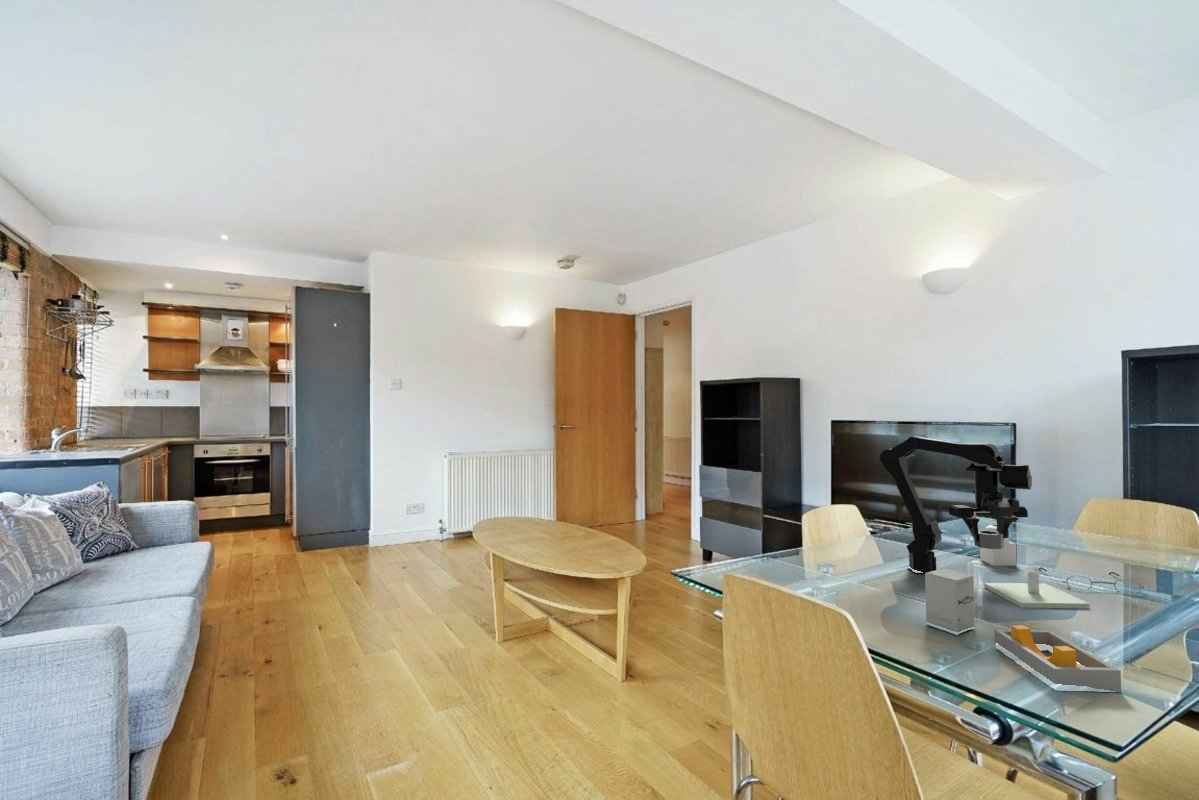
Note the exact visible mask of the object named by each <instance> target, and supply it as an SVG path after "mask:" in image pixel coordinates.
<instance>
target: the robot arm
mask: <svg viewBox="0 0 1199 800" xmlns="http://www.w3.org/2000/svg"><path fill="white" fill-rule="evenodd" d="M917 450H921V451H926V452H927V451H928V452H932V453H939V454H944V455H951V456H957V457H960V458H962V459H965V460H967V461H969V462H971V463H970V465H969V466H967V467H966V468H965V471H966V472H973V476H974V477H973V478H974V489H973V488H972V489H971V490H972V492H971V493H973V494H974V499H975V500H974V501H975V502H973V503H972V507H970V506H967V505H963V504H958V505H957V504H955V505H954V504H952V505H951V506H950V507H949V508H948V515H950V516H953V517H956V518H957V519H958V518H959V519H962V520H963V522H964V524H965V525H966V526H967V528H968V531H969V532H970V534H971V536H972V537H973V539H974V542H975V541H978V539H979V535H978V530H979V525H978V524H979V522H980V518H977V515H992V517H995V519H996V525H997V529H998V532H1001V533H1003V539H1004V538H1005V535H1006V533H1007V530H1008V529H1009V528H1010V526H1011V524H1013V523H1014V522H1015V521H1019V519H1020V518H1029V511H1028V509H1027V508H1026V506H1023V505H1020V501H1019V500H1018V499H1017V498H1008V499H1005V498H1004V496H1003V493H1002V492H1003V491H1000V488H999V485H1001V486H1004V489H1012V490H1013V489H1014V490H1029V491H1031V490H1032V484H1033V483H1032V482H1033V478H1032V475H1031V470H1030V466H1029V464H1008V463H1007V461H1005V460H1004V459H1003V457H1002V456H1000V452H999V449H998V448H997V447H996V446H995V445H994V444H992V443H986V442H977V443H976V442H972V443H971V442H970V443H968V442H966V443H963V442H956V441H955V442H954V441H950V440H949V441H948V440H942V439H935V438H928V437H923V436H919V435H912V436H910V437H908V438H907V439H906V440H904V441H902V442H901V443H899V444H897V445H895V446H894V447H893V448H892V447H891V448H888V449H884V450H883V451H881V452H880V455H879V457H878V458H879V462H880V463H881V465H882V466H883V468H884V469H885V471H886V472H887V473H888V474H889V475H890V476H891V477H892V478H893V481H894V483H895V485H896V488H897V489H898V492H899V495H900V497H901V499H902V502H903V504H904V506H905V508H906V510H907V513H908V515H909V517H910V520H911V523H912V524H911V527H912V535H913V540H912V541H911V542H910V543H908V544H907V545H906V549H907V551H908V566H910V567H911V568H912V569H914V570H917V571H921V572H923V573H927V572H931V571H935V570H937V557H936V556H935V552H934V550H935V548H936V546H938V545H939V544H940V543H941V541H942V540H943V539H942V538H943V536H942V534H943V532H942V530H941V529H940V527H939V523H938V520H934V521H932V520H931V519H930V518H929V517H928V516H927V513H926V511H925V508H924V507H923V504H922V502H921V501H920V498H919V496H918V493H917V491H916V488H915V487H914V485H913V483H912V480H911V478H910V475H909V470H908V469H909V468H908V462H907V457H909V456H910V455H912V454H913V453H915V452H916V451H917ZM999 482H1000V483H999Z"/></svg>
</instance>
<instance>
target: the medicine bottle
mask: <svg viewBox="0 0 1199 800" xmlns="http://www.w3.org/2000/svg"><path fill="white" fill-rule="evenodd" d="M985 530H990V531H998V529H997V524H990V525H986V526H985ZM1009 530H1010V529H1009V528H1008V530H1007V533H1006V535H1005V538H1004V548H1002V549H987V548H980V547H979V549H980V550H979V552H980V554H979V555H980V560H981V561H982V562H984V563H986V564H988V565H991V566H992V567H1016V566H1017V545H1016V543H1014V542H1012V541H1010V531H1009Z"/></svg>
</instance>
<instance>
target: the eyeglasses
mask: <svg viewBox="0 0 1199 800" xmlns="http://www.w3.org/2000/svg"><path fill="white" fill-rule="evenodd" d="M1038 570H1039V571H1040V570H1043V572H1047V573H1048V574H1050V575H1052V576H1053V577H1055V578H1056V579H1058V580H1059V581H1061V582H1062V583H1063V584H1065V583H1066V586H1067V587H1068V588H1069V589H1071V587H1070V586H1069V584H1068V583H1069V582H1068V581H1069V580H1070V578H1074V575H1071V576H1068V577H1067V578H1066V581H1065V580H1062V579H1060V578H1059V577H1057V576H1056V575H1054V574H1052V573H1051V572H1049V571H1048V570H1046V569H1045V568H1043V567H1039V568H1038ZM1112 574H1113V575H1115V576H1117V577H1120V579H1117V580H1115V581H1114V582H1112V581H1111V582H1110V581H1098V580H1097V581H1095V580H1093V581H1092V580H1091V578H1088V577H1086V576H1084V575H1083V576H1082V575H1079V577H1080V578H1081V577H1082V578H1086V579H1088V580H1089V582H1090V586H1089V587H1088V588H1087V590H1090V589H1091V588H1092V587H1093V584H1104V585H1105V584H1106V585H1113V587H1114V589H1115V590H1116V591H1117V590H1118V589H1117V587H1116V584H1117V582H1119V581H1121V580H1125V581H1126V580H1127V581H1129V582H1131V583H1132V584H1134V585H1137V586H1139V590H1138V591H1140V592H1141V591H1142V589H1145V588H1146V587H1145V586H1142V585H1141V583H1140V582H1139V581H1137V580H1135V579H1131V578H1125V577H1123V576H1121V575H1120V574H1118V573H1117V572H1114V571H1110V572H1109V574H1108V575H1112ZM1133 581H1134V582H1133ZM1135 582H1136V583H1135Z"/></svg>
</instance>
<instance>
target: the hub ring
mask: <svg viewBox="0 0 1199 800" xmlns="http://www.w3.org/2000/svg"><path fill="white" fill-rule="evenodd" d="M978 535H979V539H978V541H975V540H974V546H975V547H978V548H979V549H980V548H987V549H1002V548H1004V539H1003V533H1001V532H998V531H990V530H986V529H978Z"/></svg>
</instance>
